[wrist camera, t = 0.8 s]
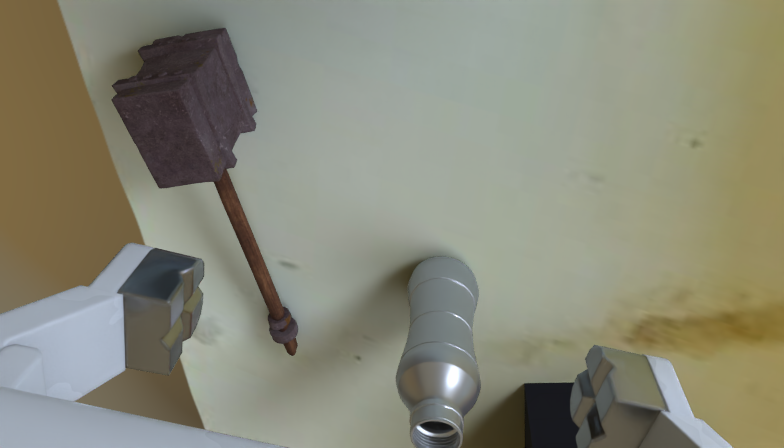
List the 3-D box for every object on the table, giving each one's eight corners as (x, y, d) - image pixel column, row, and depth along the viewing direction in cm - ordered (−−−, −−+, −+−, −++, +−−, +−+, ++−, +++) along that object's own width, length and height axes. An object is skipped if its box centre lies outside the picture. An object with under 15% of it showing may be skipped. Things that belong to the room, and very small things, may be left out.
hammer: (227, 20, 49) (187, 81, 41) (332, 301, 69) (318, 376, 62) (148, 33, 50) (95, 95, 42) (274, 306, 71) (254, 381, 63)
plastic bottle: (449, 314, 63) (445, 483, 45) (395, 277, 61) (370, 439, 44) (492, 273, 60) (505, 437, 42) (437, 234, 58) (427, 388, 41)
